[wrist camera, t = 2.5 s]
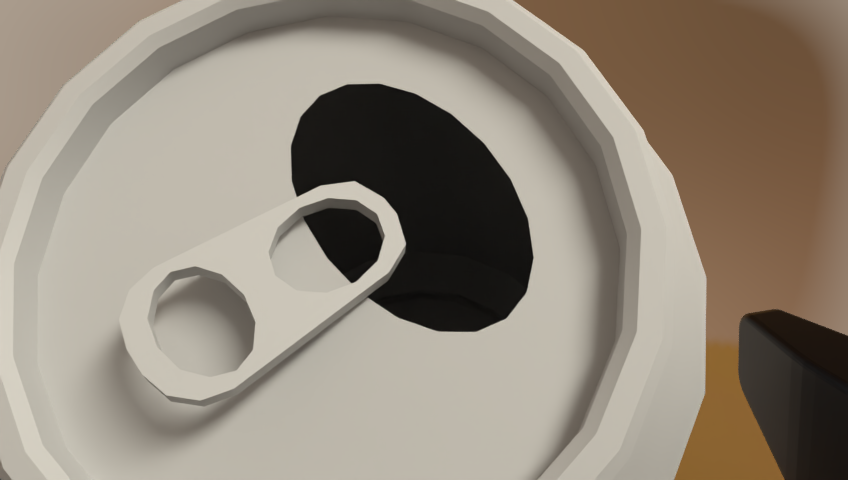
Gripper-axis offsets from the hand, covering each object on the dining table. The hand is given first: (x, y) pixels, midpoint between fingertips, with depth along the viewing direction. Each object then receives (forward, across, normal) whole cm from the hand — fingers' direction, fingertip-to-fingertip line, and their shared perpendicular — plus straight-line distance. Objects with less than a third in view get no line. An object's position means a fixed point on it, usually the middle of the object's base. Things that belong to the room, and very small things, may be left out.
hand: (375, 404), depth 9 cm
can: (+7, 0, +6) cm, 9 cm away
